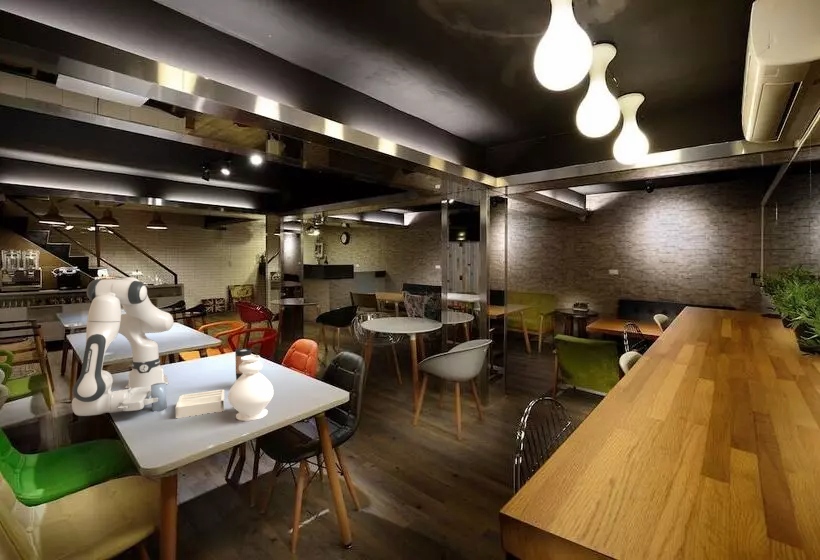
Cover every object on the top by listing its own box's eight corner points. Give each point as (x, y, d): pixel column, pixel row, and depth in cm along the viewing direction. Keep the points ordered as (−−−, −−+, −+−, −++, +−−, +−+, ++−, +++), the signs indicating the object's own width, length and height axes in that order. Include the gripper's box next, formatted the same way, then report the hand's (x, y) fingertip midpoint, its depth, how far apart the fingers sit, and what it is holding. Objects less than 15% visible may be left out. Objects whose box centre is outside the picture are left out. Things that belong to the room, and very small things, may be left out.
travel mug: (246, 390, 191) (245, 351, 190) (232, 389, 193) (231, 351, 191) (255, 385, 198) (254, 348, 197) (242, 384, 200) (241, 347, 199)
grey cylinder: (153, 407, 169) (152, 383, 169) (167, 405, 172) (166, 382, 171) (150, 412, 164) (149, 387, 164) (165, 410, 167) (164, 385, 166)
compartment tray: (180, 405, 172) (180, 395, 172) (224, 398, 180) (224, 389, 180) (175, 418, 158) (175, 407, 158) (223, 411, 165) (223, 400, 165)
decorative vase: (228, 426, 150) (226, 365, 149) (229, 410, 167) (228, 354, 165) (275, 419, 157) (274, 360, 156) (272, 404, 174) (271, 350, 172)
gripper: (114, 401, 152) (155, 396, 158) (127, 386, 171) (163, 381, 177) (115, 417, 153) (155, 411, 159) (127, 399, 171) (163, 395, 177)
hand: (159, 395), depth 168 cm, fingers open, 8 cm apart
